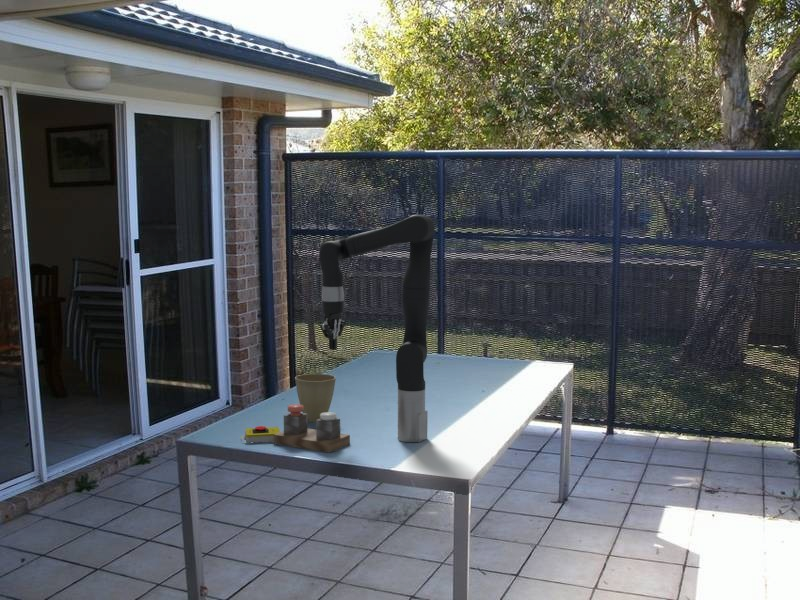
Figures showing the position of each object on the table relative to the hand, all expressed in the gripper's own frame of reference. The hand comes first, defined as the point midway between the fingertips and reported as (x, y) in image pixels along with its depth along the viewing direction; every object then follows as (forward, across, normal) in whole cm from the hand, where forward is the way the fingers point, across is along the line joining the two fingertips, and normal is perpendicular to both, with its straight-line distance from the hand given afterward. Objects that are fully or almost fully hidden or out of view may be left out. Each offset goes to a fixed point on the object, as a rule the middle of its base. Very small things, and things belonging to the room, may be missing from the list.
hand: (333, 349), depth 278 cm
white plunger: (+25, -16, -8) cm, 31 cm away
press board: (+29, -16, -2) cm, 33 cm away
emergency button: (+30, -19, +16) cm, 38 cm away
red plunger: (+24, -16, +4) cm, 29 cm away
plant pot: (+29, +11, +15) cm, 35 cm away
